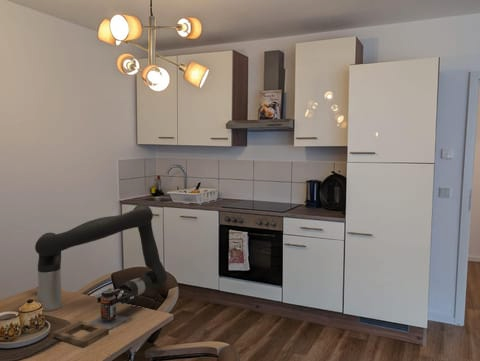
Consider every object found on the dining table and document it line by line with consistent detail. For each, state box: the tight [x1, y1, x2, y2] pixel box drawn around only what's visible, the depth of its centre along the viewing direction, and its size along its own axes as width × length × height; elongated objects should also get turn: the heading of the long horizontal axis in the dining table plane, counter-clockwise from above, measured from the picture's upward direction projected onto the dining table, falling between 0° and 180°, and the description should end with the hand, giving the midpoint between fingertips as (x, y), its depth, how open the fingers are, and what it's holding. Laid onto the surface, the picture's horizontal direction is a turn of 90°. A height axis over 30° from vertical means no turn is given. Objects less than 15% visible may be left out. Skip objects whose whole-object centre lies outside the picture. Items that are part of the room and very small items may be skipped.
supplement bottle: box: [100, 289, 117, 320], centre depth 166 cm, size 6×6×11 cm
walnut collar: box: [52, 320, 110, 348], centre depth 154 cm, size 16×12×2 cm
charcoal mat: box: [87, 314, 131, 331], centre depth 166 cm, size 12×12×1 cm
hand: (103, 302), depth 163 cm, fingers closed on supplement bottle, 6 cm apart
